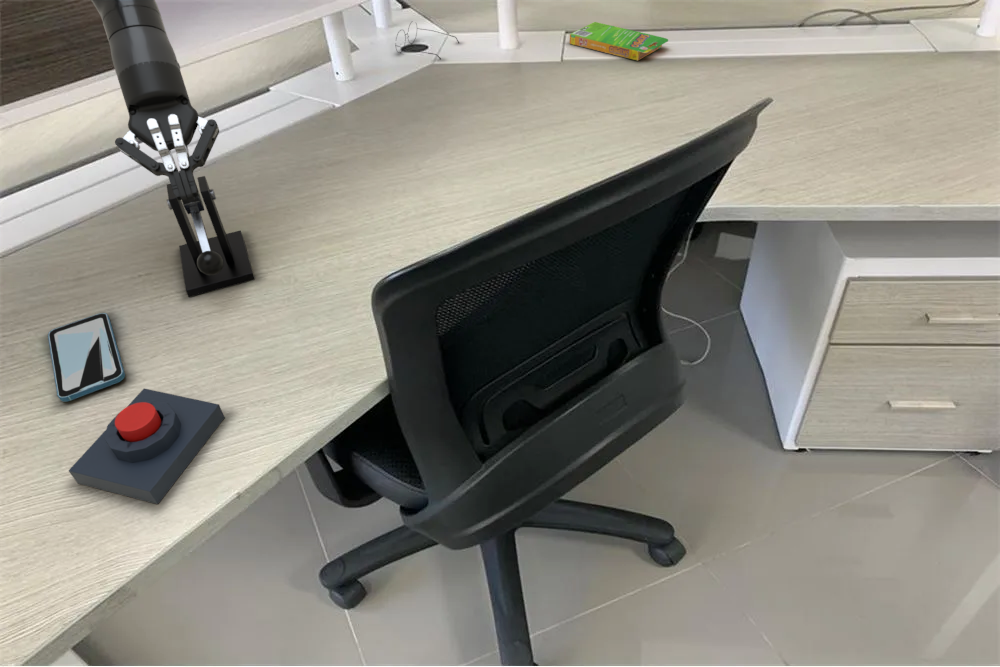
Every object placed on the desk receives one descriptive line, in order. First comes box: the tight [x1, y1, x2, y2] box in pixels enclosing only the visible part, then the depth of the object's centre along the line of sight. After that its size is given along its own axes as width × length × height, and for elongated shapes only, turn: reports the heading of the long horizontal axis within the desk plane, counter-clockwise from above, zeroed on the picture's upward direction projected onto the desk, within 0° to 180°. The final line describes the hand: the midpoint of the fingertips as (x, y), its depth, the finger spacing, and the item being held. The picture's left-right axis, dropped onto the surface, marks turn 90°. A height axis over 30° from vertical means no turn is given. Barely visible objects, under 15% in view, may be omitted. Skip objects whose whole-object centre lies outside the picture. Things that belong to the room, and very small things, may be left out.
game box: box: [569, 21, 669, 62], centre depth 157 cm, size 3×10×20 cm
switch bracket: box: [166, 175, 256, 298], centre depth 97 cm, size 12×9×13 cm
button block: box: [68, 388, 225, 505], centre depth 75 cm, size 12×10×4 cm
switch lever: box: [181, 190, 223, 275], centre depth 93 cm, size 13×3×3 cm
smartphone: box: [47, 312, 126, 403], centre depth 87 cm, size 7×1×15 cm
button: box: [115, 402, 161, 442], centre depth 73 cm, size 4×4×2 cm
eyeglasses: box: [394, 22, 460, 61], centre depth 161 cm, size 11×13×5 cm
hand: (189, 200), depth 90 cm, fingers closed
